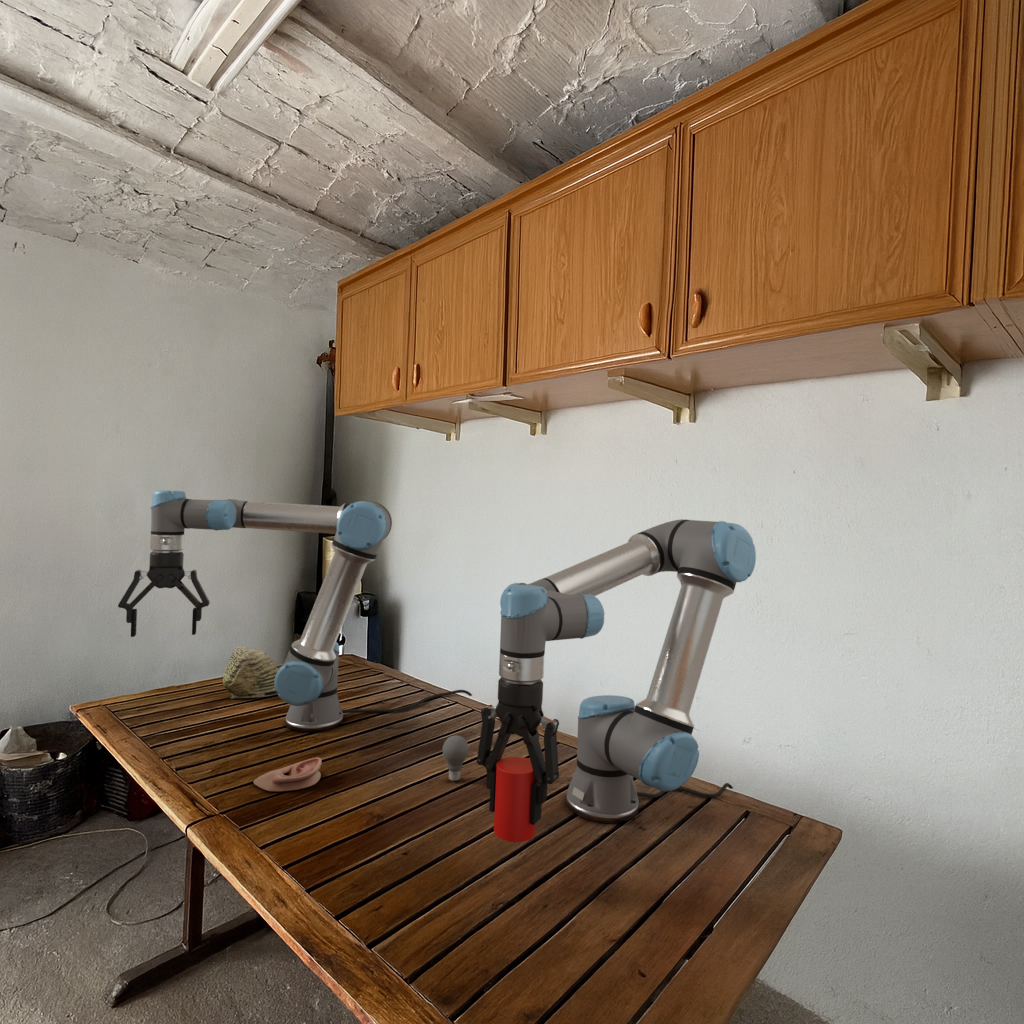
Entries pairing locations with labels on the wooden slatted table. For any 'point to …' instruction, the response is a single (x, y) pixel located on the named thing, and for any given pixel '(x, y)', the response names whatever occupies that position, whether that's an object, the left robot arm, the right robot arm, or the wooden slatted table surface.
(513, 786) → the canister
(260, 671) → the fossil
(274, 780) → the anatomical model
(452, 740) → the light bulb
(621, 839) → the wooden slatted table surface
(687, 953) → the wooden slatted table surface
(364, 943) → the wooden slatted table surface
